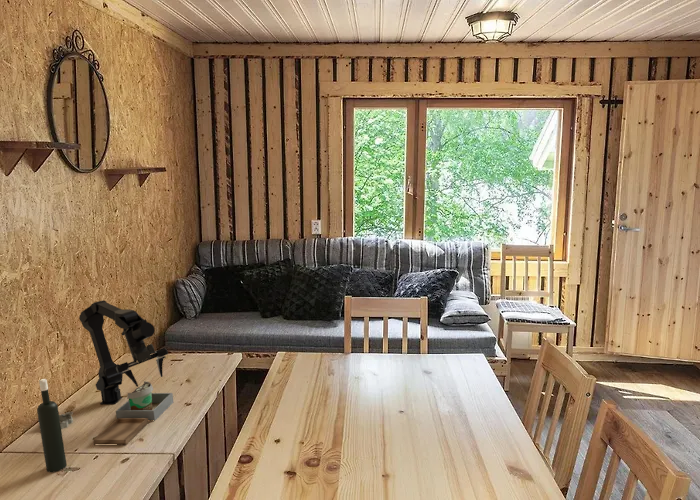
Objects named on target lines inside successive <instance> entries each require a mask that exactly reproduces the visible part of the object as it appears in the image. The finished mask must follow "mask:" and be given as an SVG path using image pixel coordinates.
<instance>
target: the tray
mask: <svg viewBox="0 0 700 500" xmlns="http://www.w3.org/2000/svg"><path fill="white" fill-rule="evenodd" d="M149 423H150V421H148V418H117V417H116V419H115V420H114V421H112V423H110V424H109V425H108V426H107V427H106V428H104V429H103V430H102V431H101V432H100V433H99V434H98V435H97V436H95V437H94V438H93V439H92V442H93V446H96V445H95V444H117V445H116V446H127V445H128V444H129V443H130V442H131V441H132V440H133V439H134V438H136V436H138V435H139V433H140V432H141V431H143V430H144V429H145V427H146V426H147V425H148V424H149Z"/></svg>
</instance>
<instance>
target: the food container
mask: <svg viewBox="0 0 700 500" xmlns="http://www.w3.org/2000/svg"><path fill="white" fill-rule="evenodd" d="M153 391H154V387H153V384H152V383H151V382H149V381H146V380H145V381H143V384H142V385H140V386H138V387H136V388H135V389H134V390H133V391H132V392H127V394H126V395H127V396H126V397H127V398H126V399H128V400H129V403H130V408H131V410H153V403H152V393H153Z"/></svg>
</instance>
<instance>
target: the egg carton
mask: <svg viewBox="0 0 700 500" xmlns="http://www.w3.org/2000/svg"><path fill="white" fill-rule="evenodd" d="M73 414H74V411H67V412H65V413H61V414H59V419H60V425H61V430H63V429H65V428H68V427H69V425H70V424H72V423H74V419H73ZM38 423H39V420H38Z"/></svg>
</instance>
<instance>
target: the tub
mask: <svg viewBox="0 0 700 500" xmlns="http://www.w3.org/2000/svg"><path fill="white" fill-rule="evenodd" d="M173 403H174V395H173V392H152V404H158V405H157V406H156V407H155V408H153V409H152V410H131V408H130V403H129V399H128V400H127V401H126V402H125V403H123V404H122V405H121V406H120V407H118V408H117V409H116V410H115V416H116V417H115V418H116V419H117V418H148V420H154V421H153V422H155V421H157V420H158V419H159V418H160V417H161V415H163V413H165V412H166V411H167V409H169V407H170V406H171V405H172V404H173Z"/></svg>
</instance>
